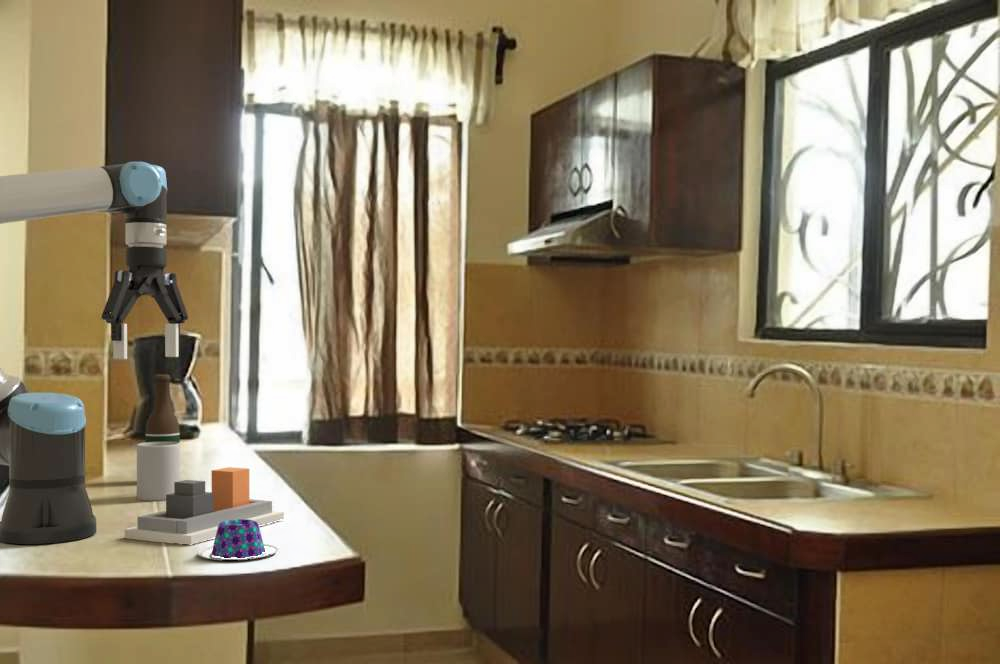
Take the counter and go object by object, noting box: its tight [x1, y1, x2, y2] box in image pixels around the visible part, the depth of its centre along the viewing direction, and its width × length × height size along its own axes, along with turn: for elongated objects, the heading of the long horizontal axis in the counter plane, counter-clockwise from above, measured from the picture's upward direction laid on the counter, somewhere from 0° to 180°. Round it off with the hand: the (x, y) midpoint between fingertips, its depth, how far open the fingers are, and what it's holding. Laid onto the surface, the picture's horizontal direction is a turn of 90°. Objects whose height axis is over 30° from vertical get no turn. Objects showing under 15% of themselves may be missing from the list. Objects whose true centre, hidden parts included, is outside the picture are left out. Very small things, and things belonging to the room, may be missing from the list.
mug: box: [136, 442, 181, 502], centre depth 221 cm, size 12×8×11 cm
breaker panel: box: [124, 498, 285, 545], centre depth 185 cm, size 24×14×4 cm, turn 155°
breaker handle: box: [165, 479, 214, 519], centre depth 181 cm, size 5×6×7 cm
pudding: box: [197, 519, 279, 561], centre depth 165 cm, size 12×12×5 cm
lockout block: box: [211, 467, 250, 512], centre depth 191 cm, size 5×5×8 cm
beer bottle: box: [145, 373, 181, 444], centre depth 241 cm, size 8×8×24 cm
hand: (146, 358), depth 207 cm, fingers open, 13 cm apart
